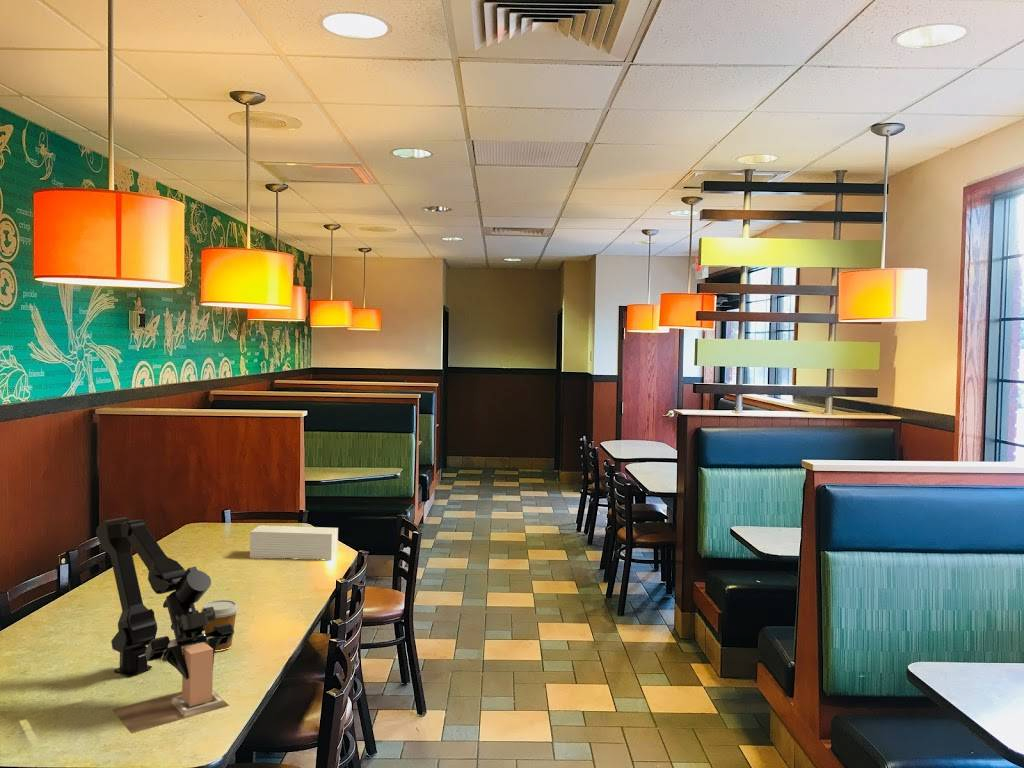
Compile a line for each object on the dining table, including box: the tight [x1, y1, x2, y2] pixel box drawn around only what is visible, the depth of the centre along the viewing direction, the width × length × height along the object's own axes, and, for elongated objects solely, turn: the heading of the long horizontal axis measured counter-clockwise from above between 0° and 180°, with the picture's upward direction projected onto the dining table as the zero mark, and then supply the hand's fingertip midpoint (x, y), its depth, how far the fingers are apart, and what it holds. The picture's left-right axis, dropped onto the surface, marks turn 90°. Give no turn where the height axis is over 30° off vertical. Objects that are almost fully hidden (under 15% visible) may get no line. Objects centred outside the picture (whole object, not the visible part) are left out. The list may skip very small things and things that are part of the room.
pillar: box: [181, 642, 214, 707], centre depth 179 cm, size 5×5×12 cm
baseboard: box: [112, 689, 230, 734], centre depth 177 cm, size 14×21×2 cm, turn 132°
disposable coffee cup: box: [201, 599, 239, 650], centre depth 215 cm, size 10×10×12 cm
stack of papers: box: [249, 525, 339, 561], centre depth 312 cm, size 32×11×11 cm, turn 90°
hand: (199, 675), depth 178 cm, fingers closed on pillar, 5 cm apart
